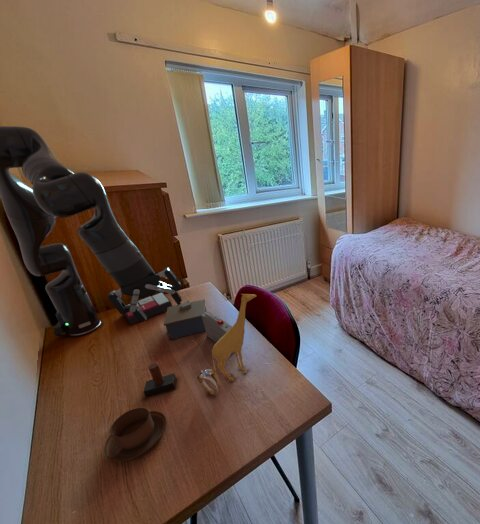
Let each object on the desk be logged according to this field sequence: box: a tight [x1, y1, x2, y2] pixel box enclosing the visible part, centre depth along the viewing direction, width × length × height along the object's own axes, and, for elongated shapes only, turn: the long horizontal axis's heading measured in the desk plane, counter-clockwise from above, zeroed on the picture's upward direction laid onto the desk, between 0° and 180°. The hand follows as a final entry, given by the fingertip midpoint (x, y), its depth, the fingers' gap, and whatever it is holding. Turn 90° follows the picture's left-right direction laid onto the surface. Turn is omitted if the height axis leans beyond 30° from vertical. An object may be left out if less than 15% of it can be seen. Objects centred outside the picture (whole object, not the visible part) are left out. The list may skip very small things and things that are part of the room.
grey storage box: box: [163, 299, 208, 340], centre depth 106 cm, size 13×12×7 cm
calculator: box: [124, 292, 173, 325], centre depth 116 cm, size 11×4×15 cm
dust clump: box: [180, 300, 191, 310], centre depth 107 cm, size 3×3×1 cm
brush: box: [143, 362, 177, 399], centre depth 79 cm, size 4×7×8 cm, turn 115°
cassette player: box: [201, 310, 235, 355], centre depth 97 cm, size 16×3×10 cm, turn 53°
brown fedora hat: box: [103, 407, 167, 463], centre depth 66 cm, size 12×12×6 cm
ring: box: [196, 368, 221, 396], centre depth 78 cm, size 7×3×8 cm, turn 60°
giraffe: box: [211, 293, 257, 382], centre depth 82 cm, size 16×4×25 cm, turn 141°
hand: (162, 311), depth 75 cm, fingers open, 8 cm apart
